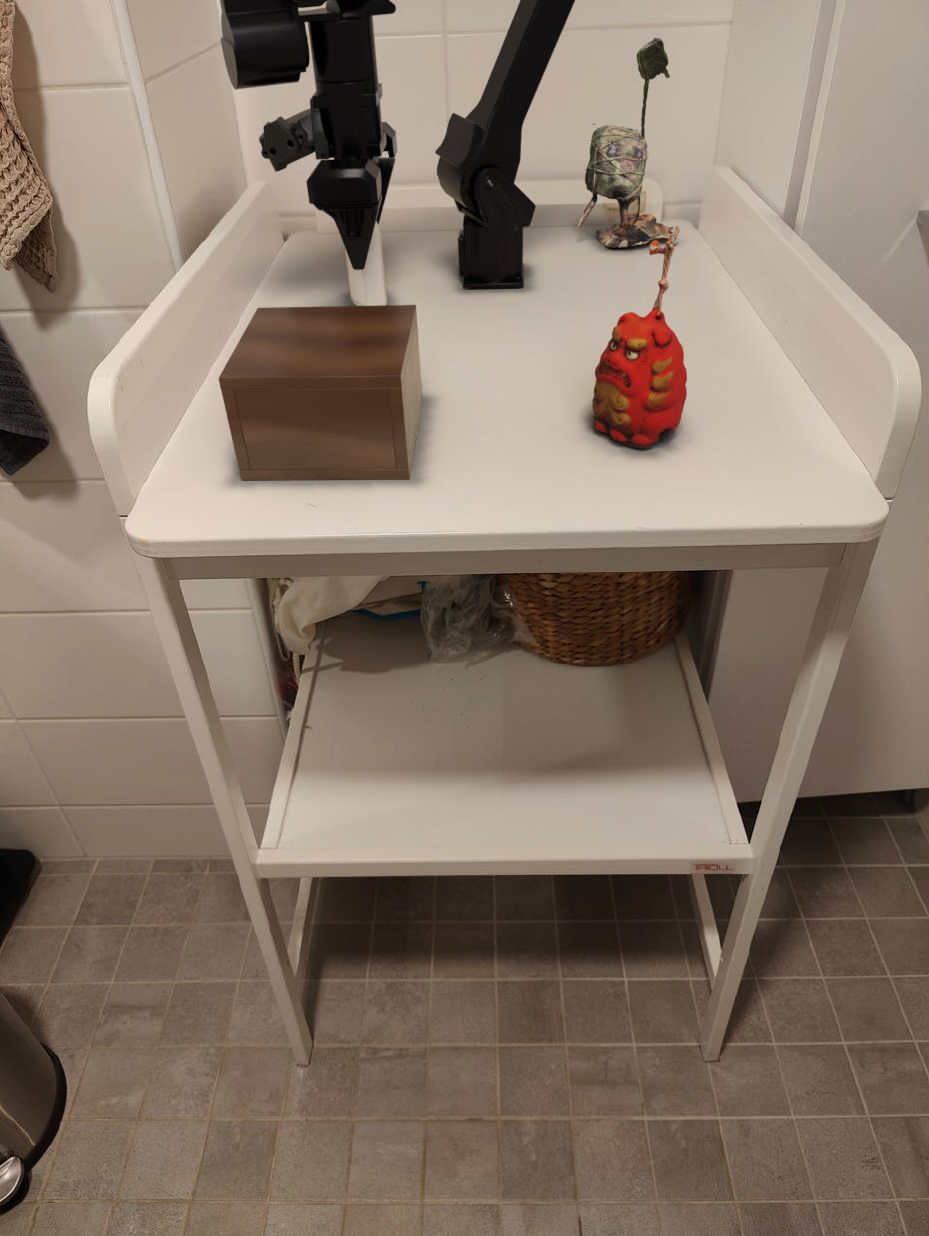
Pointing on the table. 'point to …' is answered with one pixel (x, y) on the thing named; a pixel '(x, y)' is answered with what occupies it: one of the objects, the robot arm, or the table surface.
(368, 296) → the eye dropper bottle
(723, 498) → the table surface
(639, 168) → the grey-green tall irregular figure
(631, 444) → the red clay folk toy
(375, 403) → the cabinet
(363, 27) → the robot arm
